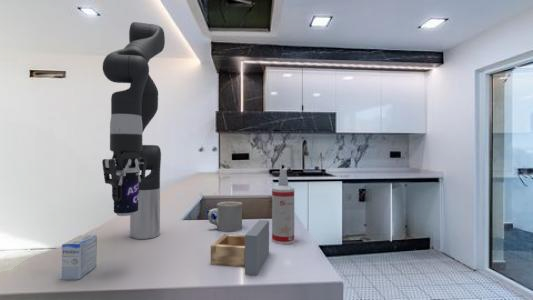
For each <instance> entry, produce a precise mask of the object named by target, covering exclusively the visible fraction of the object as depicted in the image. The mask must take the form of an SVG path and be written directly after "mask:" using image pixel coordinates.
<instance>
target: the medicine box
mask: <svg viewBox="0 0 533 300" xmlns="http://www.w3.org/2000/svg"><path fill="white" fill-rule="evenodd" d="M97 238H98V236H97V235H96V234H80V235H78V236H75V237H74V238H72V239H70V240H68V241H67V242H64V243H62V245H61V280H63V281H66V280H68V281H71V280H72V281H73V280H81V279H82V278H83V277H85V276H86V275H88V273H90V271H92V270H93V269H94V268H96V267H97V258H98V257H97V255H98V253H97V250H98V249H97V247H98V243H97V242H98V239H97Z"/></svg>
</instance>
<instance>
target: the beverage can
mask: <svg viewBox="0 0 533 300" xmlns="http://www.w3.org/2000/svg"><path fill="white" fill-rule="evenodd" d="M121 172H122V171H121V170H116V173H121ZM118 179H119V176H117V180H118ZM121 186H123V195H122V200H121V201H114V200H113V213H114V214H116V215H117V216H119V217H128V216H129V217H130V215H134V214H135V213H136V212H137V211H138V171H137V167H136V168H128V170H127V173H126V176H125V177H124V180H123V183H122V185H121Z"/></svg>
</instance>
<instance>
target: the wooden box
mask: <svg viewBox="0 0 533 300" xmlns="http://www.w3.org/2000/svg"><path fill="white" fill-rule="evenodd" d="M245 235H246V234H244V235H243V234H242V235H241V234H230V233H229V234H226V233H225V234H223V235H221V237H219V238H218V239H217V240H216V241H214V242H213V243H212V244H210V265H217V266H229V267H241V268H245Z"/></svg>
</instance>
